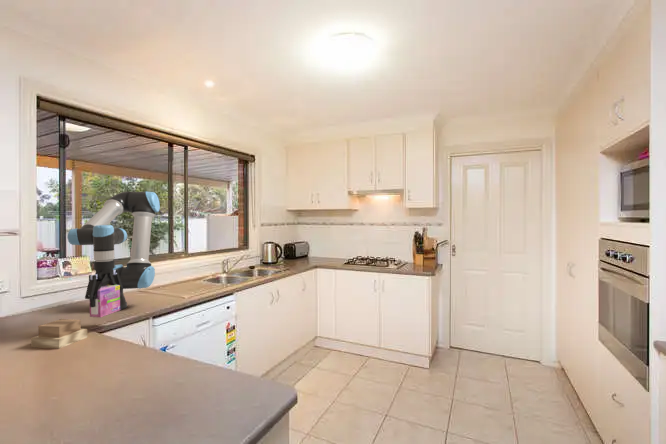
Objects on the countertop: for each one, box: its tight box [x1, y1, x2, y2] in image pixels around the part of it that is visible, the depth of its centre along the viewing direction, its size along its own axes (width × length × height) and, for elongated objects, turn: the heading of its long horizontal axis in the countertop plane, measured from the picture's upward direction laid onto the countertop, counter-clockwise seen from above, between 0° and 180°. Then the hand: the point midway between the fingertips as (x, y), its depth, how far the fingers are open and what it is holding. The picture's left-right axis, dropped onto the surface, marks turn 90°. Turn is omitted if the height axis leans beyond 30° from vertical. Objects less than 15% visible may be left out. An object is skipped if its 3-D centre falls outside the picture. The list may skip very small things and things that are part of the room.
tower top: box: [37, 318, 82, 337], centre depth 130 cm, size 9×9×4 cm
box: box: [89, 285, 121, 318], centre depth 147 cm, size 10×6×12 cm, turn 169°
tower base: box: [30, 328, 88, 350], centre depth 130 cm, size 12×12×4 cm
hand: (105, 310), depth 147 cm, fingers closed on box, 11 cm apart
